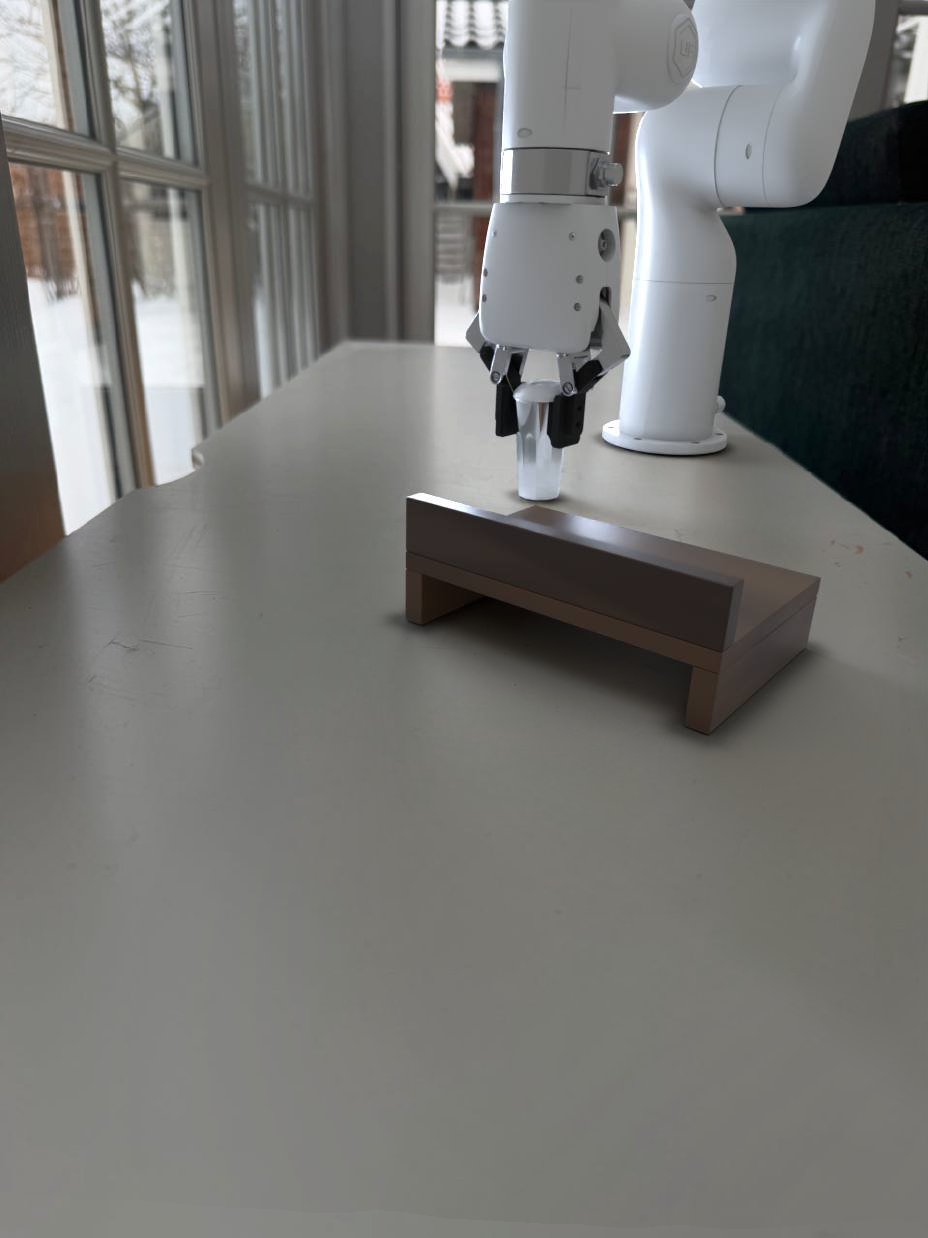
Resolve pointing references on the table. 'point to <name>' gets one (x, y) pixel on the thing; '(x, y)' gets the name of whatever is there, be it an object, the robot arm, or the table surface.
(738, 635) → the shelf
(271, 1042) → the table surface
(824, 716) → the table surface
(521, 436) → the milkshake
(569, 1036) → the table surface
